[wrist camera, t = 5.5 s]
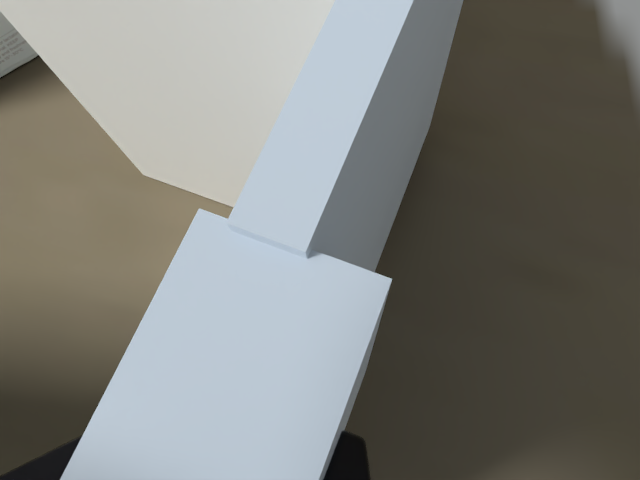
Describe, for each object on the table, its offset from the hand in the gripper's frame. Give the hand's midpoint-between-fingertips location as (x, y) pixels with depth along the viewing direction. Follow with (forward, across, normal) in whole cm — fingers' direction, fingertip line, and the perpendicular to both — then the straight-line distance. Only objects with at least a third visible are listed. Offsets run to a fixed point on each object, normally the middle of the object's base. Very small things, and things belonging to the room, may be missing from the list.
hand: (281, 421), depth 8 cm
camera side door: (+7, 0, +2) cm, 7 cm away
